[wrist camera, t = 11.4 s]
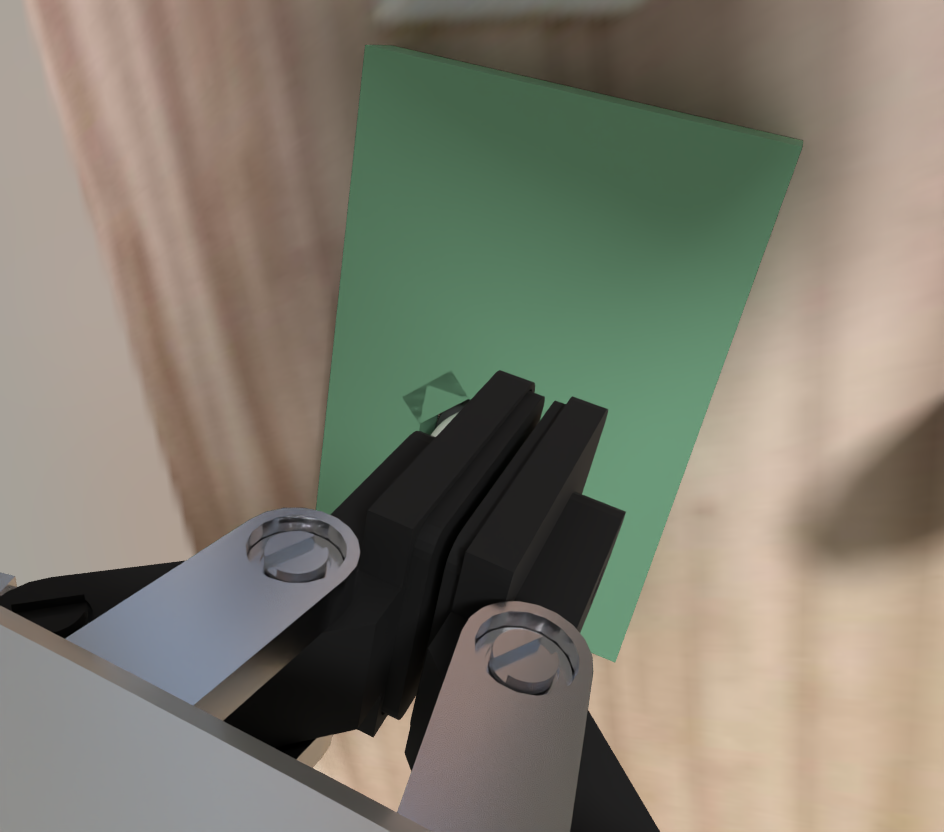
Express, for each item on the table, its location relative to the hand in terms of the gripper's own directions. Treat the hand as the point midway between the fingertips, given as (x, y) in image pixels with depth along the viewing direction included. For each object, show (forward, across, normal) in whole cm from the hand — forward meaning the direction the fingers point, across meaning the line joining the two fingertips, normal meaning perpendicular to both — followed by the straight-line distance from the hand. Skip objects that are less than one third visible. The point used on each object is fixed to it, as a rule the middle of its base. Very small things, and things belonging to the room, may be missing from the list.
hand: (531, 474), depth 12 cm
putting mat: (+25, +6, +11) cm, 28 cm away
